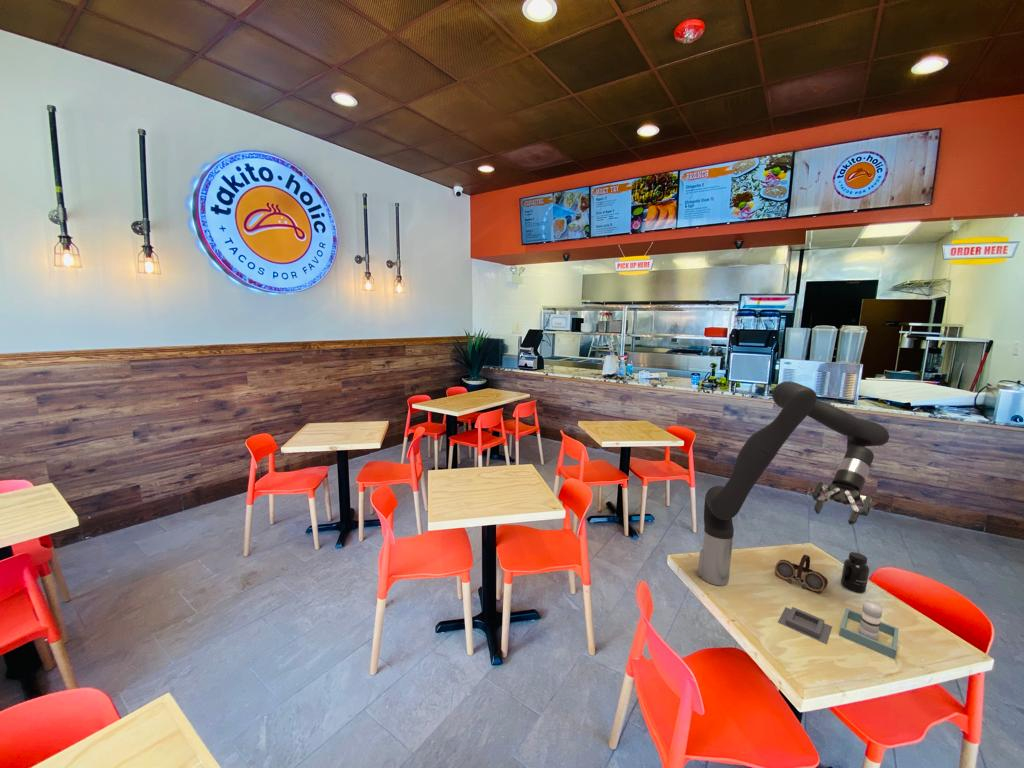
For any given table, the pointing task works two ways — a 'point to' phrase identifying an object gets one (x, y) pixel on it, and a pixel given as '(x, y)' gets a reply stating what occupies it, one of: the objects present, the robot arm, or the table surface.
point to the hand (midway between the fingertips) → (833, 517)
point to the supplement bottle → (855, 573)
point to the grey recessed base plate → (806, 624)
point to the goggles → (810, 579)
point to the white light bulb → (870, 619)
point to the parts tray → (868, 641)
